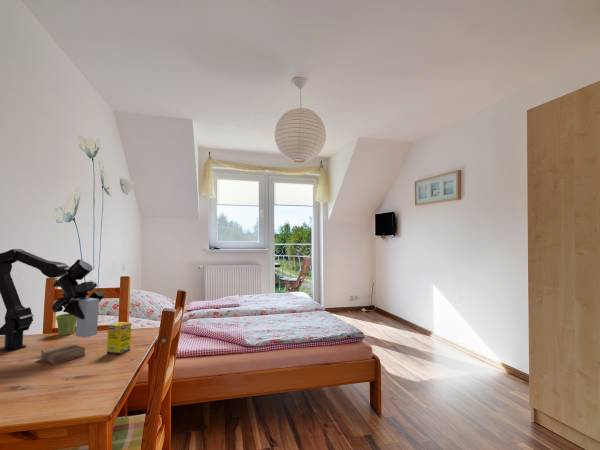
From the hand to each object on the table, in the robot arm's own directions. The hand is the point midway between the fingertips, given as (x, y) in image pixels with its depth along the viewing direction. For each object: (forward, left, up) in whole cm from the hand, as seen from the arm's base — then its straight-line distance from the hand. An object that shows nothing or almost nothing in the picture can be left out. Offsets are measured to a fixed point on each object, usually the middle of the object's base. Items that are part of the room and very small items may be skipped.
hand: (90, 317), depth 131 cm
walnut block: (-1, -8, -13) cm, 16 cm away
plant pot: (-36, +10, -13) cm, 40 cm away
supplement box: (+11, +6, -13) cm, 18 cm away
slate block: (-1, 0, -7) cm, 7 cm away
